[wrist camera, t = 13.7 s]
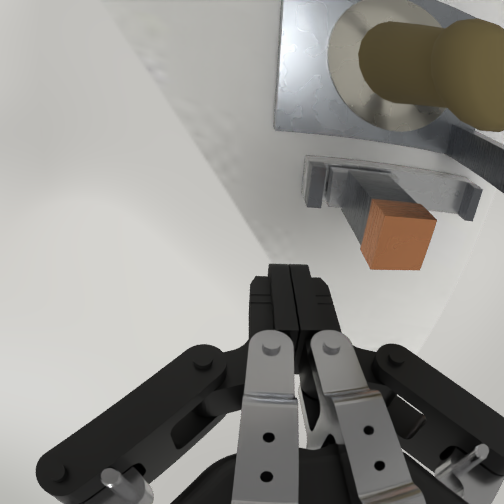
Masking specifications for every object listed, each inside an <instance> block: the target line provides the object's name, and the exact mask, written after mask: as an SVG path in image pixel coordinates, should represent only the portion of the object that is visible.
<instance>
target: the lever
mask: <svg viewBox="0 0 504 504" xmlns="http://www.w3.org/2000/svg"><path fill="white" fill-rule="evenodd" d="M398 183H399V178H398V177H397V176H396V175H395V174H391V173H383V172H375V171H366V170H357V169H348V168H338V167H330V174H329V181H328V187H327V194H326V200H325V201H326V203H327V205H328V206H329V207H342V212H343V213H344V215H345V217H346V219H347V221H348V222H349V224H350V226H351V228H352V230H353V232H354V233H355V235H356V237H357V239H358V241H359V243H360V245H361V248H360V250H361V252H362V254H363V255H364V257H365V259H366V261H367V263H368V265H369V267H370V269H374V270H420V268H421V266H422V263H423V260H424V258H425V255H426V252H427V249H428V246H429V243H430V240H431V237H432V234H433V231H434V228H435V225H436V222H437V220H436V219H435V218H434V217H433V216H432V215H431V214H430V213H429V211H428V210H427V209H426V208H425V207H424V206H423V205H422V204H418V203H416V202H415V201H414V200H413V198H412V197H411V196H410V195H408V194H407V193H406V192H405V191H404V190H403V189H402V188H401V187H400V186H399V185H398Z"/></svg>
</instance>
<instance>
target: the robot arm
mask: <svg viewBox="0 0 504 504" xmlns="http://www.w3.org/2000/svg"><path fill="white" fill-rule="evenodd" d="M294 374H299V376H300V385H299V389H298V394H299V399H300V404H301V409H302V414H303V418H304V423H305V428H306V433H307V447H306V449H303V448H299V439H298V438H299V435H298V434H299V433H298V400H297V398H295V391H294ZM397 394H398V395H399V396H400V397H402V398H403V399H404V400H406V401H407V402H409V403H410V404H411V405H413V406H414V407H415V408H417V409H418V410H419V411H421V412H422V413H423V414H424V415H423V414H421V413H419V412H418V411H417V410H415V409H414V408H413V407H411V406H410V405H409V404H407V403H406V402H405V401H403V400H402V399H401V398H399V397H398V396H397ZM238 410H241V420H240V429H239V439H238V447H237V453H236V454H233V455H230V456H227V457H225V458H223V459H220V460H218V461H217V462H215V463H213V464H212V465H211V466H209V467H208V468H207V469H206V470H205V471H203V472H202V473H201V474H200V475H199V477H197V479H196V480H194V482H192V483H191V484H190V485H189V486H188V487H187V488H186V489H185V490H184V491H183V492H182V493H181V494H180V495H179V496H178V497H177V498H176V499H175V500H174V501H173V502H172V503H170V504H491V503H492V501H493V500H494V498H495V496H496V494H497V492H498V490H499V488H500V486H501V484H502V482H503V480H504V417H502V416H501V415H500V414H498V413H497V412H496V411H494V410H493V409H491V408H490V407H489V406H487V405H485V404H484V403H483V402H481V401H480V400H479V399H477V398H476V397H474V396H473V395H472V394H470V393H469V392H467V391H466V390H465V389H463V388H461V387H460V386H459V385H457V384H456V383H454V382H453V381H452V380H450V379H449V378H448V377H446V376H445V375H443V374H442V373H440V372H439V371H438V370H436V369H435V368H433V367H432V366H430V365H429V364H428V363H426V362H425V361H423V360H422V359H421V358H419V357H418V356H416V355H415V354H413V353H412V352H411V351H409V350H408V349H406V348H405V347H403V346H401V345H398V344H386V345H383V346H381V347H380V348H379V349H378V351H377V352H373V351H369V350H364V349H360V348H357V347H355V346H353V345H352V343H351V341H350V340H349V338H348V337H347V336H346V335H344V334H342V332H341V329H340V325H339V322H338V318H337V315H336V311H335V308H334V305H333V301H332V298H331V294H330V291H329V288H328V285H327V284H326V283H325V282H324V281H323V280H322V279H321V278H312V277H311V275H310V271H309V267H308V265H301V264H289V265H288V264H269V268H268V277H266V276H255V278H254V280H253V281H252V283H251V284H250V300H249V340H248V341H247V342H246V343H245V344H244V345H243V346H241V347H240V348H238V349H236V350H232V351H227V352H222V351H221V350H220V349H218V348H217V347H215V346H212V345H206V344H202V345H196V346H193V347H191V348H189V349H187V350H186V351H185V352H183V353H182V354H181V355H180V356H178V357H177V358H176V359H174V360H173V361H172V362H170V363H169V364H168V365H166V366H165V367H164V368H162V369H161V370H160V371H158V372H157V373H156V374H155V375H153V376H152V377H151V378H149V379H148V380H147V381H145V382H144V383H143V384H141V385H140V386H139V387H137V388H136V389H135V390H133V391H132V392H130V393H129V394H128V395H126V396H125V397H124V398H122V399H121V400H120V401H118V402H117V403H116V404H114V405H113V406H111V407H110V408H109V409H107V410H106V411H105V412H103V413H102V414H100V415H99V416H98V417H96V418H95V419H93V420H92V421H91V422H89V423H88V424H86V425H85V426H84V427H82V428H81V429H80V430H78V431H77V432H75V433H74V434H72V435H71V436H70V437H68V438H67V439H65V440H64V441H62V442H61V443H60V444H58V445H57V446H55V447H54V448H52V449H51V450H49V451H48V452H47V453H45V454H44V455H43V456H42V457H41V458H40V459H39V461H38V463H37V466H36V477H37V480H38V483H39V484H40V486H41V487H42V488H43V489H44V490H45V491H46V492H48V493H49V494H51V495H52V496H54V497H55V498H56V499H57V500H59V501H60V502H62V503H63V504H152V503H153V499H154V494H153V491H152V488H151V487H150V485H149V484H150V483H151V482H152V481H153V480H155V479H156V478H157V477H158V476H159V475H161V474H162V473H163V472H164V471H165V470H166V469H168V468H169V467H170V466H171V465H172V464H173V463H175V462H176V461H177V460H178V459H179V458H180V457H181V456H182V455H184V454H185V453H186V452H187V451H188V450H189V449H191V448H192V447H193V446H194V445H195V444H196V443H197V442H198V441H199V440H200V439H201V438H203V437H204V436H205V435H206V434H207V433H208V432H209V431H210V430H211V429H212V428H213V427H214V426H216V425H217V423H218V422H220V421H221V420H222V419H223V418H224V417H225V415H226V414H227V413H230V412H234V411H238ZM401 448H402V449H404V450H405V451H406V452H407V453H409V454H410V455H411V456H413V457H414V458H415V459H417V460H418V461H419V462H421V463H422V464H423V465H425V466H426V467H427V468H429V469H430V470H431V471H433V472H434V473H435V477H434V476H433V475H432V474H431V473H429V472H428V471H427V470H425V469H424V468H423V467H422V466H420V465H419V464H418V463H417V462H416V461H415V460H413V459H412V458H411V457H409V456H408V455H407V454H406V453H404V452H402V449H401Z"/></svg>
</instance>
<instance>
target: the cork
mask: <svg viewBox="0 0 504 504" xmlns="http://www.w3.org/2000/svg"><path fill="white" fill-rule="evenodd" d="M358 58H359V68H360V70H361V73H362V76H363V78H364V80H365V82H366V83H367V84H368V86H369V87H370V88H371V90H372V91H373V92H374V93H376V94H377V95H378V96H380V97H381V98H382V99H384V100H387V101H390V102H393V103H397V104H411V105H423V106H433V107H442V108H448V109H449V110H450V111H451V112H452V113H453V114H454V115H455V116H456V117H457V118H458V119H459V120H460V121H462V122H464V123H466V124H468V125H470V126H472V127H474V128H476V129H478V130H482V131H493V132H501V131H503V130H504V29H503V28H501V27H500V26H499V25H496V24H494V23H491V22H488V21H484V20H481V19H466V20H459V21H456V22H454V23H453V24H451V25H450V26H448V27H447V28H440V27H434V26H427V25H420V24H412V23H403V22H393V21H388V22H384V23H380V24H377V25H376V26H374V27H373V28H371V29H370V30H369V31H368V32H367V33H366V35H365V36H364V38H363V39H362V41H361V44H360V48H359V52H358Z"/></svg>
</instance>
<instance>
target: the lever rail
mask: <svg viewBox="0 0 504 504" xmlns="http://www.w3.org/2000/svg"><path fill="white" fill-rule="evenodd" d="M330 167H338V168H348V169H357V170H366V171H375V172H383V173H391V174H395V175H396V176H397V177H398V178H399V183H398V185H399V186H400V187H401V188H402V189H403V190H404V191H405V192H406V193H407V194H408V195H410V196H411V197H412V198H413V200H414V201H415V202H416V203H418V204H422V205H423V206H424V207H425V208H426V209H427V210H430V211H439V212H447V213H456V214H458V215H459V216H461V217H462V218H463V219H464V220H466V221H473V218H474V215H475V212H476V209H477V206H478V203H479V200H480V197H481V193H482V190H483V189H481V188H480V187H479V186H477V185H476V184H475V183H473V182H472V181H471V180H469V179H468V178H466V177H463V176H457V175H452V174H447V173H442V172H436V171H430V170H424V169H418V168H412V167H405V166H399V165H392V164H385V163H377V162H369V161H361V160H352V159H343V158H333V157H322V156H310V155H306V156H305V165H304V174H303V182H302V191H301V193H302V195H303V198H304V200H305V203H306V206H307V207H312V208H321V204H322V201H325V200H326V194H327V187H328V181H329V174H330Z"/></svg>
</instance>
